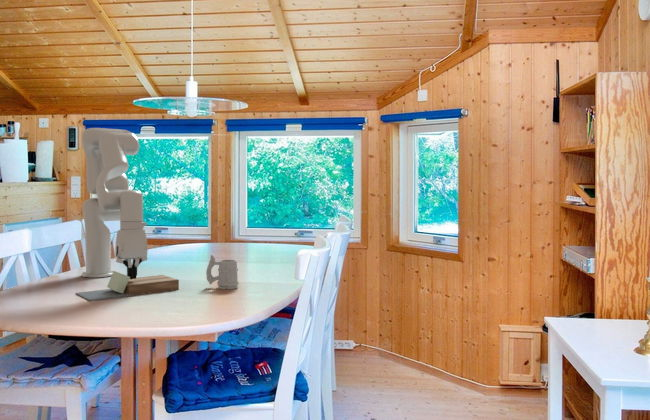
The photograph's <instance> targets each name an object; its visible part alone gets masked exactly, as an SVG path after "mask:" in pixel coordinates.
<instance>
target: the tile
mask: <svg viewBox="0 0 650 420" xmlns="http://www.w3.org/2000/svg"><path fill="white" fill-rule="evenodd" d="M113 271H114V272H113V274H112V276H110V279H109V281H108V283H107V285H106V288H107V289H112V290H114V291H116V292H119V293H122V294H123V292H124V290H125V288H126V285H127V283H128V281H129V278H130V277H129V276H127V274H124V273H121V272H119V271H116V270H113Z"/></svg>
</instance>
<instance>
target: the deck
mask: <svg viewBox="0 0 650 420" xmlns="http://www.w3.org/2000/svg"><path fill="white" fill-rule="evenodd" d="M179 282H180V281H179V279H177V278H174V277H171V276H168V275H164V274H159V275H152V276H151V275H150V276H149V275H148V276H143V277H142V276H141V277H136V279H129V281H128V283H127V285H126V288H125V290H124V293H127V294H129V295H130V294H133V296H137V295H145V294H154V293H161V292H168V291H177V290H180V284H179Z"/></svg>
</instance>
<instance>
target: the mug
mask: <svg viewBox="0 0 650 420" xmlns="http://www.w3.org/2000/svg"><path fill="white" fill-rule="evenodd" d="M214 266H218V269H217V272H218V275H215V276H214V275H212V268H213V267H214ZM238 271H239V269H238V261H237V260H236V259H221V260H219V261H216V257H215V256H214V255H213V254H210V259H209V262H208V265H207V267H206V270H205V272H206V280H207V282H208V284H209V285H212V284H213V283H214V282H216V281H217V283H216V284H217V286H218V287H217V288H218V289H219V290H234V289H238V288H239V283H240V282H239V280H238Z"/></svg>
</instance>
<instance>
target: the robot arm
mask: <svg viewBox="0 0 650 420" xmlns="http://www.w3.org/2000/svg"><path fill="white" fill-rule="evenodd" d="M81 146H82V150H83V152H84V155H85V160H86V189H87V192H88V193H89V194H92V195H96V197H92V198H91V197H90V198H88V199H87V198H86V199H85V200H84V201H83V204H82V205H81V207H82V208H81V209H82V215H83V221H84V236H85V237H84V238H85V242H84V243H85V271H84V272H81V277H83V278H92V279H93V278H95V279H96V278H107V277H111V276H112V274H113V272H114V271H115V270H112V266H111V265H112V262H111V261H112V260H111V258H112V257H111V254H112V253H111V251H112V250H111V249H112V248H111V247H112V245H111V231H110V228H109V227H108V226H107V225H106V223H105V222H117V221H119V229H118V230H117V231H116V239H115V248H114V249H115V251H114V252H115V253H114V254H115V258H116V261H115V262H116V263H118V264H123V265H124V266H125V267H126V275H127V276H129V277H130V278H129V279H136V278H137V276H138V268H139V266H140V265H141V264H142V262H147V261H148V251H149V249H148V238H147V234H146V230H145V229H144V228H145V227H147V225H148V224H147V222H146V221H144V205H143V203H144V198H143V193H142V192H141V191H140V190H135V189H129V179H128V176H127V174H126V172H127V171H128V170H129V167H130V166H129V162H128V159H127V156H135V155H137V154H138V153H139V151H140V150H139V149H140V143H139V138H138V137H137V136H136V134H135V133H134V132H131V131H129V130H127V129H118V128H105V127H102V128H101V127H90V128H86V129H84V131H82V134H81Z"/></svg>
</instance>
